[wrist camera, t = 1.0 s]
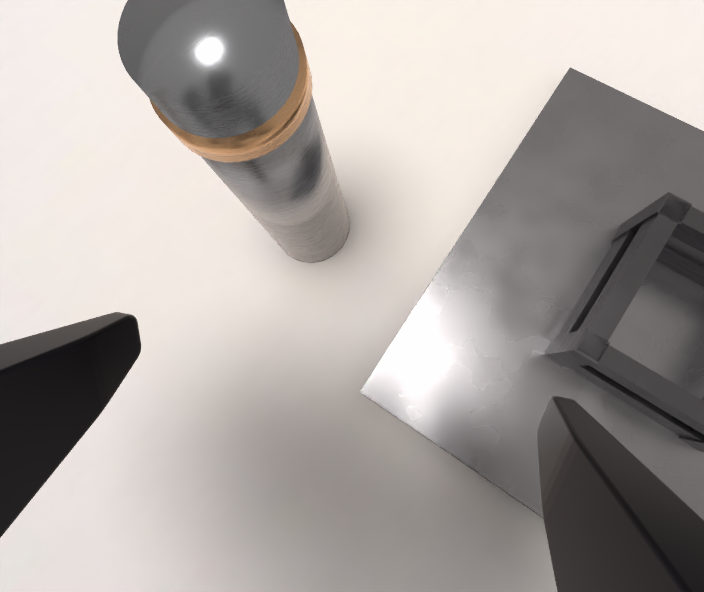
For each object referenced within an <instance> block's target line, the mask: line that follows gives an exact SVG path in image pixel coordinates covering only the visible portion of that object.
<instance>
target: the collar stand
mask: <svg viewBox="0 0 704 592" xmlns="http://www.w3.org/2000/svg"><path fill="white" fill-rule="evenodd" d="M360 392H361V393H362V394H364V395H365V396H367V397H368V398H370V399H371V400H373V401H374V402H375V403H377V404H378V405H380V406H381V407H383V408H384V409H386V410H387V411H389V412H390V413H392V414H393V415H394V416H396V417H397V418H399V419H400V420H402V421H403V422H405V423H406V424H408V425H409V426H410V427H412V428H413V429H415V430H416V431H418V432H419V433H421V434H422V435H424V436H425V437H426V438H428V439H429V440H431V441H432V442H434V443H435V444H437V445H438V446H440V447H441V448H443V449H444V450H445V451H447V452H448V453H450V454H451V455H453V456H454V457H456V458H457V459H459V460H460V461H461V462H463V463H464V464H466V465H467V466H469V467H470V468H472V469H473V470H475V471H476V472H478V473H479V474H480V475H482V476H483V477H485V478H486V479H488V480H489V481H491V482H492V483H494V484H495V485H496V486H498V487H499V488H501V489H502V490H504V491H505V492H507V493H508V494H510V495H511V496H512V497H514V498H515V499H517V500H518V501H520V502H521V503H523V504H524V505H526V506H527V507H529V508H530V509H531V510H533V511H534V512H536V513H537V514H539V515H540V516H542V517H543V511H542V501H541V488H540V473H539V459H538V444H537V431H538V426H539V424H540V421H541V418H542V416H543V413H544V411H545V408H546V406H547V403H548V401H549V399H550V398H551V397H553V396H558V397H563V398H569V399H573V400H575V401H576V402H577V403H578V404H579V405H580V406H581V407H582V408H584V409H585V410H586V411H587V412H588V413H589V414H590V415H591V416H592V417H593V418H594V419H595V420H596V421H598V422H599V423H600V424H601V425H602V426H603V427H604V428H605V429H606V430H607V431H608V432H609V433H610V434H612V435H613V436H614V437H615V438H616V439H617V440H618V441H619V442H620V443H621V444H622V445H623V446H624V447H626V448H627V449H628V450H629V451H630V452H631V453H632V454H633V455H634V456H635V457H636V458H637V459H638V460H640V461H641V462H642V463H643V464H644V465H645V466H646V467H647V468H648V469H649V470H650V471H651V472H652V473H653V474H655V475H656V476H657V477H658V478H659V479H660V480H661V481H662V482H663V483H664V484H665V485H666V486H667V487H669V488H670V489H671V490H672V491H673V492H674V493H675V494H676V495H677V496H678V497H679V498H680V499H681V500H683V501H684V502H685V503H686V504H687V505H688V506H689V507H690V508H691V509H692V510H693V511H694V512H695V513H697V514H698V515H699V516H700V517H701V518H702V519H703V520H704V131H702V130H700V129H697V128H695V127H693V126H691V125H689V124H687V123H685V122H683V121H681V120H679V119H677V118H675V117H672V116H670V115H668V114H666V113H664V112H662V111H660V110H658V109H656V108H654V107H652V106H649V105H647V104H645V103H643V102H641V101H639V100H637V99H635V98H633V97H631V96H629V95H627V94H624V93H622V92H620V91H618V90H616V89H614V88H612V87H610V86H608V85H606V84H604V83H601V82H599V81H597V80H595V79H593V78H591V77H589V76H587V75H585V74H583V73H581V72H578V71H576V70H574V69H572V68H569V70H568V71H567V73H566V75H565V76H564V78H563V79H562V81H561V82H560V84H559V85H558V87H557V88H556V90H555V92H554V93H553V95H552V96H551V98H550V99H549V101H548V102H547V104H546V105H545V107H544V108H543V110H542V112H541V113H540V115H539V116H538V118H537V119H536V121H535V122H534V124H533V125H532V127H531V129H530V130H529V132H528V133H527V135H526V136H525V138H524V139H523V141H522V142H521V144H520V145H519V147H518V149H517V150H516V152H515V153H514V155H513V156H512V158H511V159H510V161H509V162H508V164H507V166H506V167H505V169H504V170H503V172H502V173H501V175H500V176H499V178H498V179H497V181H496V182H495V184H494V186H493V187H492V189H491V190H490V192H489V193H488V195H487V196H486V198H485V199H484V201H483V203H482V204H481V206H480V207H479V209H478V210H477V212H476V213H475V215H474V216H473V218H472V219H471V221H470V223H469V224H468V226H467V227H466V229H465V230H464V232H463V233H462V235H461V236H460V238H459V240H458V241H457V243H456V244H455V246H454V247H453V249H452V250H451V252H450V253H449V255H448V256H447V258H446V260H445V261H444V263H443V264H442V266H441V267H440V269H439V270H438V272H437V273H436V275H435V276H434V278H433V280H432V281H431V283H430V284H429V286H428V287H427V289H426V290H425V292H424V293H423V295H422V297H421V298H420V300H419V301H418V303H417V304H416V306H415V307H414V309H413V310H412V312H411V313H410V315H409V317H408V318H407V320H406V321H405V323H404V324H403V326H402V327H401V329H400V330H399V332H398V334H397V335H396V337H395V338H394V340H393V341H392V343H391V344H390V346H389V347H388V349H387V350H386V352H385V354H384V355H383V357H382V358H381V360H380V361H379V363H378V364H377V366H376V367H375V369H374V371H373V372H372V374H371V375H370V377H369V378H368V380H367V381H366V383H365V384H364V386H363V387H362V389H361V391H360ZM543 518H544V517H543Z"/></svg>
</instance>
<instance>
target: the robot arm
mask: <svg viewBox="0 0 704 592" xmlns="http://www.w3.org/2000/svg"><path fill="white" fill-rule="evenodd" d="M140 351H141V341H140V335H139V329H138V323H137V319H136V318H135V317H134V316H133V315H130V314H125V313H120V312H114V313H111V314H107V315H104V316H100V317H96V318H93V319H89V320H86V321H82V322H79V323H75V324H71V325H68V326H64V327H61V328H57V329H54V330H50V331H46V332H43V333H39V334H36V335H32V336H29V337H25V338H22V339H18V340H14V341H11V342H7V343H4V344H0V538H1V536H2V535H3V534H4V533H5V531H6V530H7V529H8V528H9V526H10V525H11V524H12V523H13V522H14V520H15V519H16V518H17V517H18V515H19V514H20V513H21V512H22V510H23V509H24V508H25V507H26V505H27V504H28V503H29V502H30V501H31V499H32V498H33V497H34V496H35V494H36V493H37V492H38V491H39V489H40V488H41V487H42V486H43V484H44V483H45V482H46V481H47V479H48V478H49V477H50V476H51V475H52V473H53V472H54V471H55V470H56V468H57V467H58V466H59V465H60V463H61V462H62V461H63V460H64V458H65V457H66V456H67V455H68V453H69V452H70V451H71V450H72V449H73V447H74V446H75V445H76V444H77V442H78V441H79V440H80V439H81V437H82V436H83V435H84V434H85V432H86V431H87V430H88V429H89V428H90V426H91V425H92V424H93V423H94V421H95V420H96V419H97V417H98V416H99V415H100V414H101V412H102V411H103V410H104V408H105V407H106V405H107V404H108V402H109V401H110V399H111V398H112V396H113V395H114V393H115V392H116V390H117V389H118V387H119V386H120V384H121V383H122V381H123V380H124V378H125V376H126V375H127V373H128V372H129V370H130V369H131V367H132V366H133V364H134V363H135V361H136V360H137V358H138V356H139V354H140ZM537 444H538V459H539V473H540V488H541V501H542V511H543V517H544V523H545V528H546V533H547V539H548V544H549V549H550V554H551V560H552V565H553V570H554V575H555V581H556V586H557V591H558V592H704V520H703V519H702V518H701V517H700V516H699V515H698V514H697V513H695V512H694V511H693V510H692V509H691V508H690V507H689V506H688V505H687V504H686V503H685V502H684V501H683V500H681V499H680V498H679V497H678V496H677V495H676V494H675V493H674V492H673V491H672V490H671V489H670V488H669V487H667V486H666V485H665V484H664V483H663V482H662V481H661V480H660V479H659V478H658V477H657V476H656V475H655V474H653V473H652V472H651V471H650V470H649V469H648V468H647V467H646V466H645V465H644V464H643V463H642V462H641V461H640V460H638V459H637V458H636V457H635V456H634V455H633V454H632V453H631V452H630V451H629V450H628V449H627V448H626V447H624V446H623V445H622V444H621V443H620V442H619V441H618V440H617V439H616V438H615V437H614V436H613V435H612V434H610V433H609V432H608V431H607V430H606V429H605V428H604V427H603V426H602V425H601V424H600V423H599V422H598V421H596V420H595V419H594V418H593V417H592V416H591V415H590V414H589V413H588V412H587V411H586V410H585V409H584V408H582V407H581V406H580V405H579V404H578V403H577V402H576V401H575V400H573V399H569V398H563V397H558V396H553V397H551V398H550V399H549V401H548V403H547V406H546V408H545V411H544V413H543V416H542V418H541V421H540V424H539V426H538V431H537Z"/></svg>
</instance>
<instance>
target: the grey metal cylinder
mask: <svg viewBox="0 0 704 592" xmlns="http://www.w3.org/2000/svg"><path fill="white" fill-rule="evenodd" d="M118 49H119V54H120V57H121V60H122V63H123V65H124V67H125V69H126V71H127V72H128V74H129V75H130V76H131V78H132V79H133V80H134V81H135V82H136V83H137V85H138V86H139V87H140V88H141V89H142V90H143V91H144V93H145V94H146V95H147V96H148V97H149V98H150V102H151V104H152V106H153V108H154V110H155V112H156V114H157V115H158V116H159V118H160V119H161V120H162V121H163V123H164V124H165V125H166V126H167V127H168V128H169V129H170V130H171V131H172V132H173V134H174V135H175V136H176V137H177V138H178V139H179V140H180V141H181V142H182V143H183V144H184V145H185V146H186V147H187V148H188V149H190V150H191V151H192V152H194V153H196V154H198V155H199V156H201V157H202V158H203V159H204V160H205V162H206V163H207V164H208V165H209V166H210V167H211V168H212V169H213V171H214V172H215V173H216V174H217V175H218V176H219V177H220V178H221V180H222V181H223V182H224V183H225V184H226V185H227V186H228V188H229V189H230V190H231V191H232V192H233V193H234V194H235V195H236V197H237V198H238V199H239V200H240V201H241V202H242V203H243V204H244V206H245V207H246V208H247V209H248V210H249V211H250V212H251V214H252V215H253V216H254V217H255V218H256V219H257V220H258V221H259V223H260V224H261V225H262V226H263V227H264V228H265V229H266V231H267V232H268V233H269V234H270V235H271V236H272V237H273V238H274V240H275V241H276V242H277V243H278V244H279V245H280V246H281V247H282V249H283V250H284V251H285V252H286V253H287V254H288V255H290V256H291V257H293V258H294V259H297V260H299V261H303V262H319V261H323V260H325V259H328V258H330V257H331V256H333V255H334V254H336V253H337V252H338V251H339V250H340V249H341V247H342V246H343V245H344V243H345V241H346V239H347V236H348V233H349V218H348V214H347V211H346V207H345V204H344V201H343V197H342V194H341V191H340V187H339V184H338V181H337V177H336V174H335V170H334V167H333V164H332V160H331V157H330V154H329V150H328V147H327V144H326V140H325V137H324V134H323V130H322V127H321V124H320V120H319V117H318V114H317V110H316V107H315V104H314V100H313V97H312V77H311V73H310V68H309V65H308V61H307V58H306V54H305V51H304V47H303V43H302V41H301V38H300V36H299V33H298V32H297V30H296V28H295V27H294V25H293V24H292V23H291V21H290V20H289V17H288V13H287V10H286V6H285V3H284V0H128V1H127V3H126V5H125V7H124V10H123V12H122V15H121V18H120V22H119V27H118Z"/></svg>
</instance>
